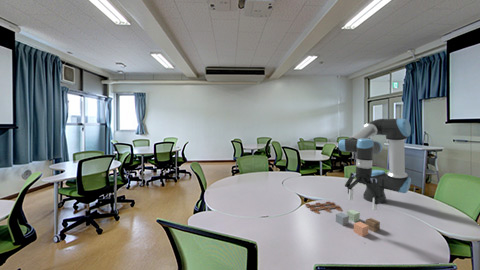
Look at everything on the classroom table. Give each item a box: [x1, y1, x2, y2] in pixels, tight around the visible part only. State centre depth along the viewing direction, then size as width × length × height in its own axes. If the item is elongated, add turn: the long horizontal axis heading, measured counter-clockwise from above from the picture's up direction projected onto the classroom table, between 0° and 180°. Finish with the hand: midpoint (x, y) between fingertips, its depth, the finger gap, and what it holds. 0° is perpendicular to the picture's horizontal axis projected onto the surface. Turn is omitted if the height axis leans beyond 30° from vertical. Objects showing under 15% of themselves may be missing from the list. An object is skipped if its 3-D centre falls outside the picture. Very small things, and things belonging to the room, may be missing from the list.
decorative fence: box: [304, 201, 343, 215], centre depth 141 cm, size 23×2×15 cm
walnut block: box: [364, 217, 381, 233], centre depth 113 cm, size 5×5×5 cm
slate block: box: [335, 212, 350, 227], centre depth 120 cm, size 5×5×5 cm
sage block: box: [346, 209, 361, 223], centre depth 124 cm, size 5×5×5 cm
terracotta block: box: [353, 221, 369, 238], centre depth 109 cm, size 5×5×5 cm
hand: (361, 204), depth 108 cm, fingers open, 13 cm apart
